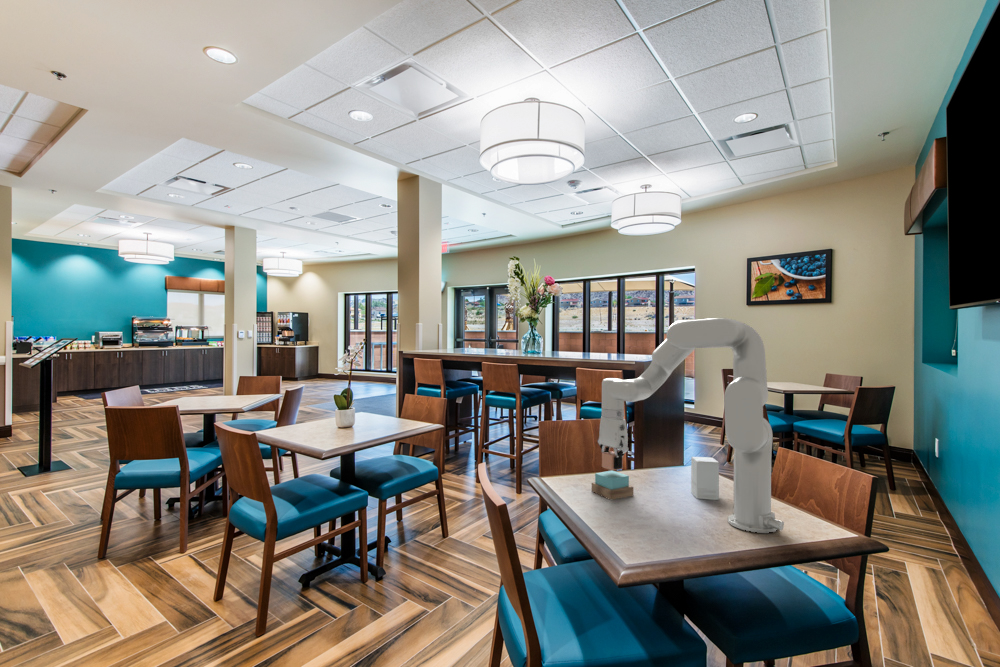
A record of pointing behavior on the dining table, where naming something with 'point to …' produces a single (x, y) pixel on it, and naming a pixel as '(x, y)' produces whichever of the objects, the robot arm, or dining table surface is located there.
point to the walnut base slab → (612, 491)
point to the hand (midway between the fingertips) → (612, 466)
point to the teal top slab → (611, 479)
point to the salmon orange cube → (609, 460)
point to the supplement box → (705, 478)
